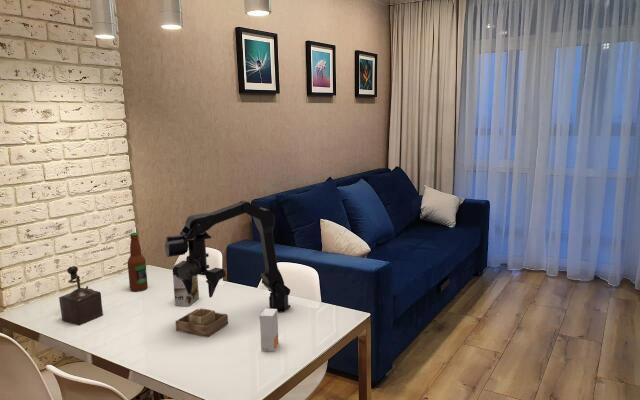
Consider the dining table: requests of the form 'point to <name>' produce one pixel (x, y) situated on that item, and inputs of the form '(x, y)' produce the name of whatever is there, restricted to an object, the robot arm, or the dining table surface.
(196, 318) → the small crate
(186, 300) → the coffee box
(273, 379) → the dining table surface
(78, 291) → the manual coffee grinder
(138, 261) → the bottle
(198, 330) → the big crate
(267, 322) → the skincare box
